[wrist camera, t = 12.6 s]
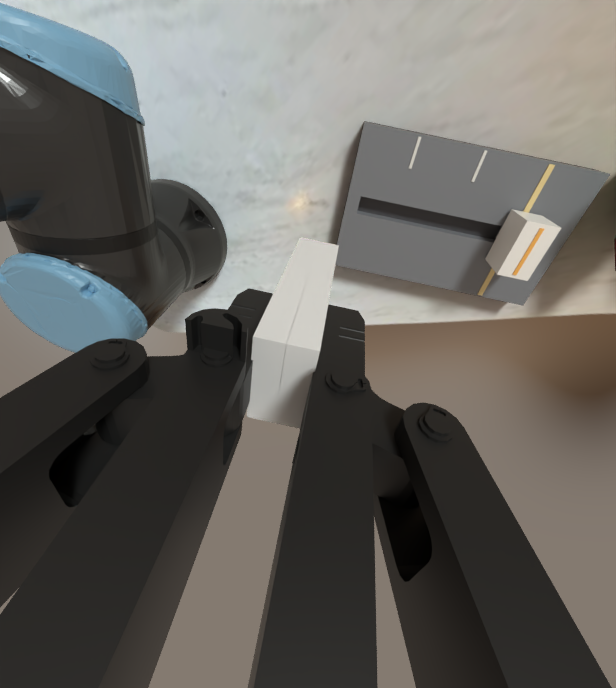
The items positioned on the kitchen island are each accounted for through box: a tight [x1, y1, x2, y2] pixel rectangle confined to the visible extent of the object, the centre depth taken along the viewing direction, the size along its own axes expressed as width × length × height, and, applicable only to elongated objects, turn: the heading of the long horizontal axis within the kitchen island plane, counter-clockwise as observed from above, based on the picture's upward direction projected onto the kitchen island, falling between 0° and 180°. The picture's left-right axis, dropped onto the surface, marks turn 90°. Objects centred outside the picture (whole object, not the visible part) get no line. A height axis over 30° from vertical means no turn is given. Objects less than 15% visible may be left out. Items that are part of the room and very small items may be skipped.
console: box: [335, 121, 610, 305], centre depth 40 cm, size 26×16×3 cm, turn 80°
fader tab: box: [485, 209, 561, 281], centre depth 37 cm, size 4×6×6 cm, turn 170°
